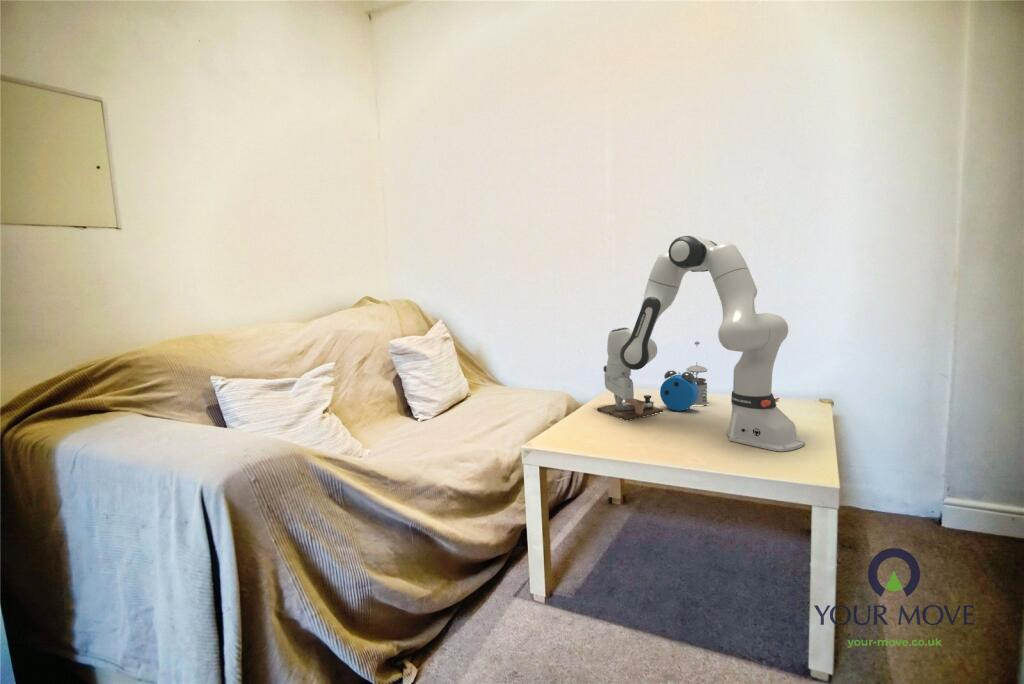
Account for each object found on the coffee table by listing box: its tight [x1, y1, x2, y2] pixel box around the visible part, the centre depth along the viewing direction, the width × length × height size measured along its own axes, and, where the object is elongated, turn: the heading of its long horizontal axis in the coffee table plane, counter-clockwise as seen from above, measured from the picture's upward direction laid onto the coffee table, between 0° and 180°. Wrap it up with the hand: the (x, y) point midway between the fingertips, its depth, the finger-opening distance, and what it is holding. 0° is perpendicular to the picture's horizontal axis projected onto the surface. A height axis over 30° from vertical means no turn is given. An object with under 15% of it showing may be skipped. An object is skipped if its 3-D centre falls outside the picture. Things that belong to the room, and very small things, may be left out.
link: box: [616, 394, 655, 411], centre depth 200 cm, size 14×4×4 cm, turn 98°
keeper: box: [624, 397, 645, 414], centre depth 197 cm, size 7×3×4 cm, turn 31°
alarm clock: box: [659, 370, 699, 412], centre depth 201 cm, size 13×6×15 cm, turn 52°
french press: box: [686, 340, 709, 406], centre depth 210 cm, size 10×12×25 cm
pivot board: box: [596, 401, 664, 421], centre depth 202 cm, size 17×18×1 cm
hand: (618, 405), depth 203 cm, fingers closed
